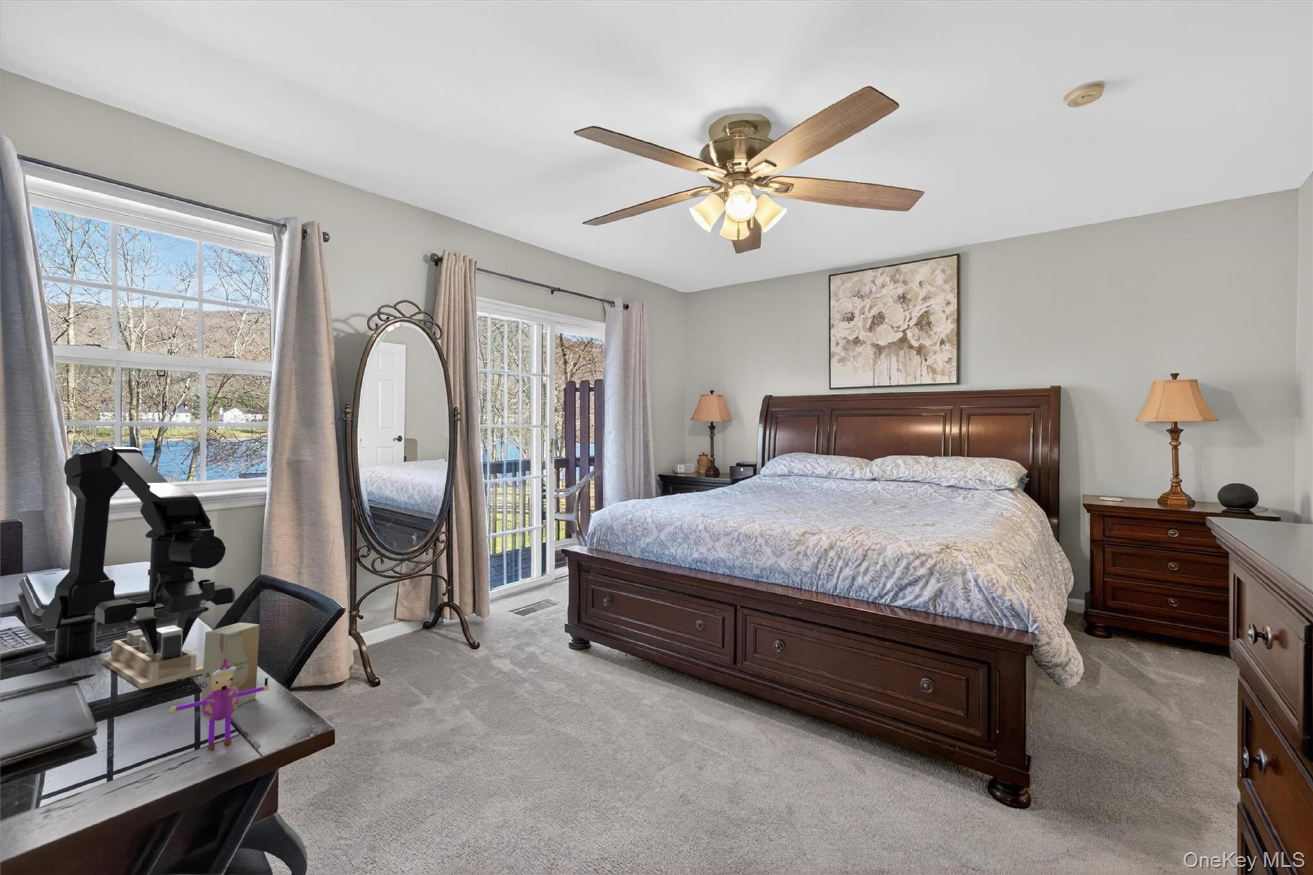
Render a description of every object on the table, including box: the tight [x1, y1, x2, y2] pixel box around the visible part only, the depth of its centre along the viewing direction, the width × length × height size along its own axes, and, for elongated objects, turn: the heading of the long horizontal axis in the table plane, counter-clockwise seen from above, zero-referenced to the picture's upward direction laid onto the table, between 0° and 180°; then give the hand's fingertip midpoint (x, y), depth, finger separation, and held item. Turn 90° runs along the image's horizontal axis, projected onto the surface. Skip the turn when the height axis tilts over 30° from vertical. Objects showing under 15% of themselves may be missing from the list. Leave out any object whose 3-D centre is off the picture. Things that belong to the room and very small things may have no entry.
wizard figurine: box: [168, 658, 270, 751], centre depth 81 cm, size 11×3×12 cm, turn 136°
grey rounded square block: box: [153, 624, 183, 662], centre depth 105 cm, size 4×3×6 cm, turn 57°
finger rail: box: [101, 628, 204, 690], centre depth 109 cm, size 21×9×6 cm, turn 57°
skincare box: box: [200, 622, 260, 711], centre depth 94 cm, size 6×4×12 cm
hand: (167, 650), depth 105 cm, fingers open, 3 cm apart
